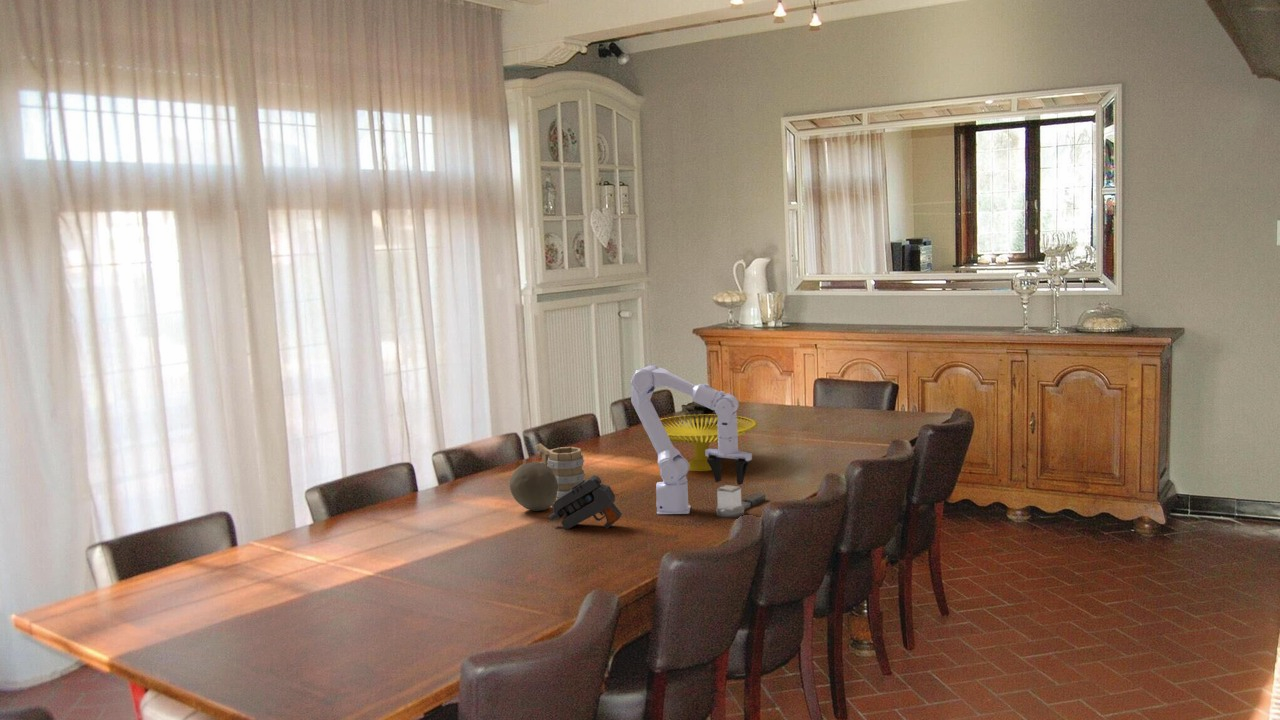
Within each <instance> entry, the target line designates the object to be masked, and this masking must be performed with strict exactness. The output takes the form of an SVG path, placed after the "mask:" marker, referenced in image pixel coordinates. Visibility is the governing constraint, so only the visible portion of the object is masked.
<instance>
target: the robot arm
mask: <svg viewBox="0 0 1280 720" xmlns="http://www.w3.org/2000/svg"><path fill="white" fill-rule="evenodd" d="M629 383H630V387H631V394H630V395H631V397H630V399H631V400H630V401H631V404H632V407H633V408H634V410H635V413H636V414H637V416H638V418H639V420H640V422H641V424H642V427H643V429H644V428H645V429H644V431H645V432H646V434H647V436H648V438H649V440H650V442H651V444H652V447H653V448H654V450H655V452H656V454H657V465H658V467H659V475H660V477H661V479H662V481H658V482H656V488H655V495H656V498H655V499H656V503H655V505H656V514H657V515H689V514H690V512H691V511H690V510H691V507H692V506H691V505H690V504H689V491H688V490H689V488H688V485H689V484H688V478H687V475H688V473H689V471H690V470H689V463H688V462H689V461H688V459H686V458H685V457H683V455H682V454H681V452H680V450H678V449H677V448H676V447H675V446H674V444H673V443H672V441H670V438H669V436H668V434H667V432H666V430H665V428H664V426H665V425H664V424H663V423H662V422H661V420H660V419H661V418H660V417H659V415H658V413H657V410H656V409H655V406H654V405H653V403H652V401H651V398H652V397H653V393H654V392H655V389H656V388H659V387H665V386H666V387H669V388H671V389H674V390H677V391H678V392H681V393H683V394H686V395H689V396H690V397H691V399H692V402H693V401H694V402H696V403H698V404H700V405H703V406H705V407H707V408H709V409H711V410H715V412H716V414H717V419H718V421H717V424H716V425H717V427H718V442H717V448H709V449H707V450H705V456H707V457H709V458H708V459H707V462H708V464H709V465H710V467H711V469H712V470H711V472H712V475H713V477H714V480H715V481H714V482H715V483H718V482H721V480H722V467H721V465H722V463H723V458H724V459H733V460H736V461H733V462H734V463H733V464H734V467H735V471H736V484H737V486H740V485H743V484H744V479H745V476H746V475H745V474H746V472H747V469H748V467H749V466H750V462H751V461H752V460H753V455H752V453H751V452H746V451H742V450H739V444H738V443H739V438H738V437H739V436H738V433H737V425H738V424H737V423H738V421H737V419H738V417H737V416H738V415H737V414H738V413H737V410H738V408H739V405H740V402H739V400H738V398H737V397H736V396H735V395H733V394H732V393H725V391H724V390H720V391H719V390H718V389H715V388H713V387H710V386H711V385H710V384H709V383H707V382H706V383H704V384H703V383H699V384H693V383H692V382H690V381H688V380H686V379H684V378H682V377H681V376H679V375H676V374H674V373H673V372H670V371H669V370H667V369H665V368H663V367H658V366H657V365H654V364H649V365H646V366H645V367H643V368H640V369H637V370H635V372H634V373H633V374H632V376H631V379H630V381H629ZM722 466H723V465H722Z"/></svg>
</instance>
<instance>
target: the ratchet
mask: <svg viewBox="0 0 1280 720" xmlns="http://www.w3.org/2000/svg"><path fill="white" fill-rule="evenodd" d="M765 501H766V494H764V493H763V494H762V493H757V492H756V493H754V494H751V495H749V496H747V497H745V498H743V499H742V500H741V507H740V508H738V509H736V510H733V511H730V510H723V509H718V505H717V506H716V508H715V510H716V516H717V517H719V518H722V519H723V518H724V519H735V518H740V516H741V517H743V516H745V510H748V509H749V508H751V507H755V506H757V505H758V504H760V503H762V502H765ZM742 515H743V516H742Z"/></svg>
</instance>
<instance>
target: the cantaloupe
mask: <svg viewBox="0 0 1280 720" xmlns="http://www.w3.org/2000/svg"><path fill="white" fill-rule="evenodd" d="M557 490H558V483H557V480H556V477H555V475H554V473H553V471H552V470H551V469H550V468H549V467H548V465H545V464H543V463H541V462H540V461H533V462H527V463H526V462H525V463H522V464H521V465H519V466H518V467H516V469H515V470H514V471H513V473H512V474H511V476H510V479H509V491H510V493H511V494H512V496H513V499H514V500H515V502H517V503H518V505H520V506H522V507H523V508H525V509H527V510H529V511H532V512H533V511H534V512H541V511H545V510H547V509H549V508H550V507H552V504H553V503H554V502H555V501H556V500H557V497H556V496H557Z"/></svg>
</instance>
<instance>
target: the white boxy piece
mask: <svg viewBox="0 0 1280 720" xmlns="http://www.w3.org/2000/svg"><path fill="white" fill-rule="evenodd" d="M716 494H717V496H716V497H717V498H716V499H717V506H718V509H723V510H730V511H733V510H736V509H738V508H740V507H741V502H742V487H741V486H740V485H733V484H732V485H729V484H724V485H722V486H720V487H718V488H717V489H716Z"/></svg>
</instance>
